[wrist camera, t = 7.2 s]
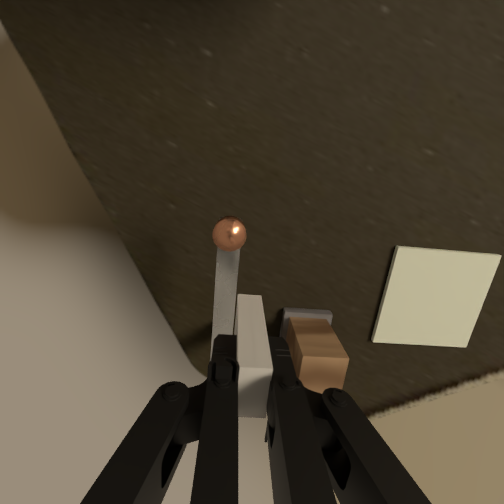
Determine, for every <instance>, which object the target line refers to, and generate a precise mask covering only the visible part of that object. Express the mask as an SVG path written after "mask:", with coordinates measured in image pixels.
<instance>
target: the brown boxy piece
mask: <svg viewBox="0 0 504 504" xmlns="http://www.w3.org/2000/svg"><path fill="white" fill-rule="evenodd" d="M332 316H333V314H332V313H331V311H330V310H318V309H302V308H286V307H284V308H283V315H282V322H281V329H280V336H279V337H283V338H284V339H285V341H286V342H287V343H288V346H289V351H290V354H291V358H292V361H293V365H294V369H295V372H296V376H297V378H298V379H299V380H301V382H302V384H303V386H304V387H306V388H307V389H309V390H312V391H315V392H318V393H321V394H322V393H323V391H324V390H325V389H327V388H338V389H341V390H342V387H343V383H344V379H345V374H346V370H347V366H348V362H349V357H348V355H347V353H346V352H345V350H344V348H343V347H342V345H341V343H340V341H339V340H338V338H337V336H336V334H335V333H334V331H333V329H332V327H331V326H330V325H331V321H332Z"/></svg>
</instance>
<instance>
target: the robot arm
mask: <svg viewBox="0 0 504 504" xmlns="http://www.w3.org/2000/svg"><path fill="white" fill-rule="evenodd" d="M266 412H267V416H268V421H267V428H266V434H265V442H267V439H268V449H269V459H270V469H271V479H272V489H273V499H274V504H337V502H336V499H335V495H334V492H335V494H336V496H337V498H338V500H339V502H340V504H431V502H430V501H429V500H428V498H427V497H426V496H425V494H424V493H423V492H422V490H421V489H420V488H419V487H418V485H417V484H416V482H415V481H414V480H413V478H412V477H411V476H410V474H409V473H408V472H407V470H406V469H405V468H404V466H403V465H402V464H401V462H400V461H399V460H398V458H397V457H396V456H395V454H394V453H393V452H392V450H391V449H390V448H389V446H388V445H387V444H386V442H385V441H384V440H383V438H382V437H381V436H380V434H379V433H378V432H377V430H376V429H375V428H374V426H373V425H372V424H371V422H370V421H369V420H368V418H367V417H366V416H365V415H364V413H363V412H362V411H361V409H360V408H359V407H358V405H357V404H356V403H355V401H354V400H353V399H352V397H351V396H350V395H349V394H348V393H347V392H345V391H343V390H341V389H338V388H327V389H325V390H324V391H323V393H322V394H321V393H318V392H315V391H312V390H309V389H307V388H306V387H304V386H303V384H302V382H301V380H299V379H298V378H297V376H296V372H295V369H294V365H293V361H292V358H291V354H290V351H289V346H288V343H287V342H286V341H285V339H284V338H283V337H274V336H268V335H267V329H266V323H265V317H264V311H263V304H262V298H261V296H259V295H245V294H238V299H237V310H236V321H235V335H228V334H218V335H217V336H216V338H215V339H214V342H213V350H212V357H211V361H210V362H209V365H208V377H207V379H206V380H205V381H204V382H203V383H202V384H200V385H197V386H194V387H190V388H188V387H187V386H186V385H185V384H183V383H181V382H175V381H173V382H168V383H166V384H163V385H162V386H160V387H159V389H157V391H156V392H155V394H154V395H153V397H152V398H151V400H150V401H149V403H148V404H147V405H146V407H145V408H144V410H143V411H142V413H141V414H140V416H139V417H138V419H137V420H136V422H135V423H134V425H133V426H132V428H131V429H130V431H129V432H128V434H127V435H126V436H125V438H124V440H123V441H122V442H121V444H120V445H119V447H118V448H117V450H116V451H115V453H114V454H113V456H112V457H111V459H110V460H109V462H108V463H107V465H106V466H105V468H104V469H103V470H102V472H101V474H100V475H99V477H98V478H97V479H96V481H95V482H94V484H93V485H92V487H91V488H90V490H89V491H88V493H87V494H86V496H85V497H84V499H83V500H82V502H81V503H80V504H161V503H162V501H163V498H164V496H165V493H166V491H167V489H168V487H169V484H170V482H171V480H172V478H173V475H174V473H175V470H176V468H177V466H178V464H179V462H180V459H181V457H182V455H183V452H184V450H185V448H186V444H187V443H190V442H194V441H197V440H199V444H198V451H197V458H196V465H195V473H194V480H193V487H192V494H191V501H190V504H238V417H256V418H265V417H266ZM333 490H334V492H333Z"/></svg>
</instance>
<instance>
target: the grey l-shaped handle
mask: <svg viewBox="0 0 504 504" xmlns="http://www.w3.org/2000/svg"><path fill="white" fill-rule="evenodd" d="M213 240H214V242H215V244H216V245H217V246H218V247H217V263H216V279H215V295H214V311H213V327H212V343H211V357H212V350H213V342H214V339H215V338H216V336H217V335H218V334H228V335H233V322H234V311H235V299H236V288H237V277H238V265H239V254H240V248H241V247H242V246H243V244H244V243H245V240H246V229H245V226H244V224H243V222H242V218H237V217H234V216H225V217H220V220H219V221H218V222H217V223H216V225H215V228H214V230H213ZM211 357H210V361H211Z"/></svg>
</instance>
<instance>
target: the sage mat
mask: <svg viewBox="0 0 504 504" xmlns="http://www.w3.org/2000/svg"><path fill="white" fill-rule="evenodd" d="M500 259H501V255H498V254H489V253H477V252H465V251H453V250H441V249H430V248H418V247H406V246H396V247H395V251H394V255H393V258H392V262H391V266H390V270H389V274H388V277H387V281H386V285H385V289H384V292H383V296H382V300H381V304H380V308H379V311H378V315H377V319H376V323H375V326H374V330H373V334H372V338H371V340H372V342H379V343H397V344H415V345H432V346H450V347H466V346H467V344H468V341H469V338H470V336H471V333H472V331H473V328H474V326H475V323H476V320H477V318H478V315H479V313H480V310H481V308H482V305H483V302H484V300H485V297H486V295H487V292H488V290H489V287H490V284H491V282H492V279H493V277H494V274H495V272H496V269H497V266H498V264H499V261H500Z"/></svg>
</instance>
